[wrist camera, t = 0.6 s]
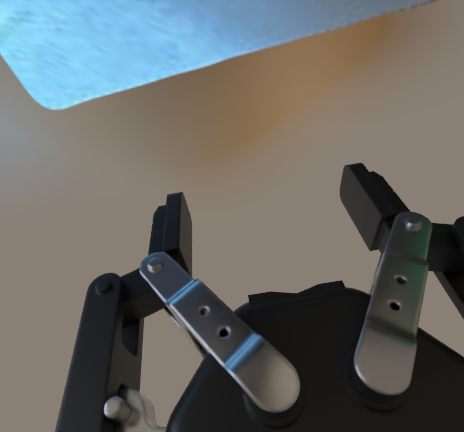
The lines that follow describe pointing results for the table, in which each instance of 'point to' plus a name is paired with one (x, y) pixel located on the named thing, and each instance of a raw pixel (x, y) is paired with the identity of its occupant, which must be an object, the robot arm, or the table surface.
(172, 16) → the table surface
